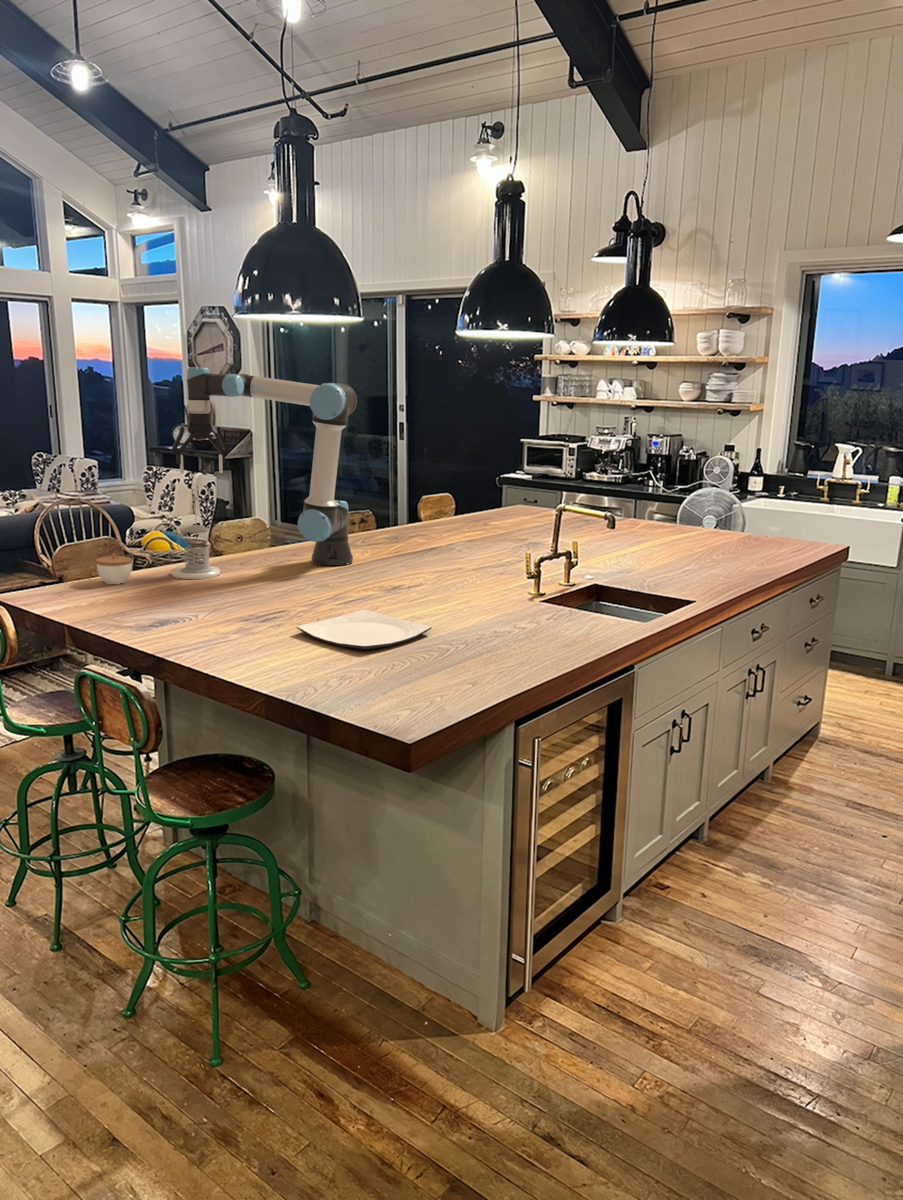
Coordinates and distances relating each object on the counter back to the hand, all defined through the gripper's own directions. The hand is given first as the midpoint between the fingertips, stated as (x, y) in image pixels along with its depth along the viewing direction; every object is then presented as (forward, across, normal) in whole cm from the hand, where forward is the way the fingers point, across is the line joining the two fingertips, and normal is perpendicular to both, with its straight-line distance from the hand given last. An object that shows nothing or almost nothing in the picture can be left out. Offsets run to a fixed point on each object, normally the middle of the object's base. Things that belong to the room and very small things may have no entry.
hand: (201, 473), depth 327 cm
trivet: (+32, +7, +22) cm, 39 cm away
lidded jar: (+32, +33, +27) cm, 53 cm away
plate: (+32, -24, +110) cm, 117 cm away
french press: (+30, +7, +22) cm, 38 cm away
